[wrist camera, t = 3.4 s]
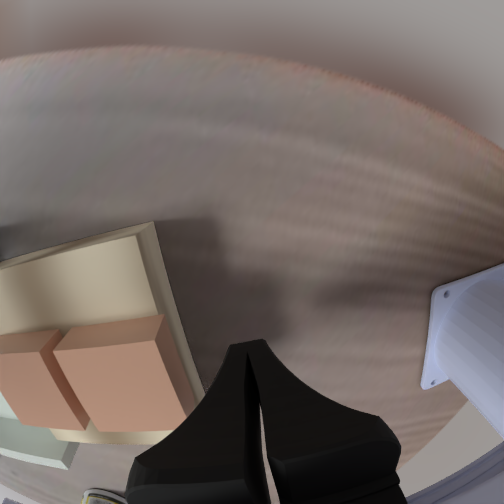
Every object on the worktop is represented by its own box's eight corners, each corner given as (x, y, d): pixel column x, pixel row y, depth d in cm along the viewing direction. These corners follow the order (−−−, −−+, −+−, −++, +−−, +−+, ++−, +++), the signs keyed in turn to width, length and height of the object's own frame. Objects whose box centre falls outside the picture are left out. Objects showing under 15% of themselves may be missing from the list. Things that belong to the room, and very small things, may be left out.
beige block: (153, 221, 14) (135, 235, 11) (208, 403, 17) (207, 440, 14) (3, 261, 13) (-28, 278, 10) (72, 411, 16) (57, 440, 13)
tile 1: (164, 314, 12) (154, 340, 10) (194, 397, 13) (191, 428, 11) (71, 327, 11) (52, 350, 10) (109, 404, 13) (98, 431, 11)
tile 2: (58, 328, 11) (38, 352, 10) (96, 404, 13) (85, 430, 11) (-1, 335, 11) (-21, 354, 9) (36, 402, 13) (22, 424, 11)
